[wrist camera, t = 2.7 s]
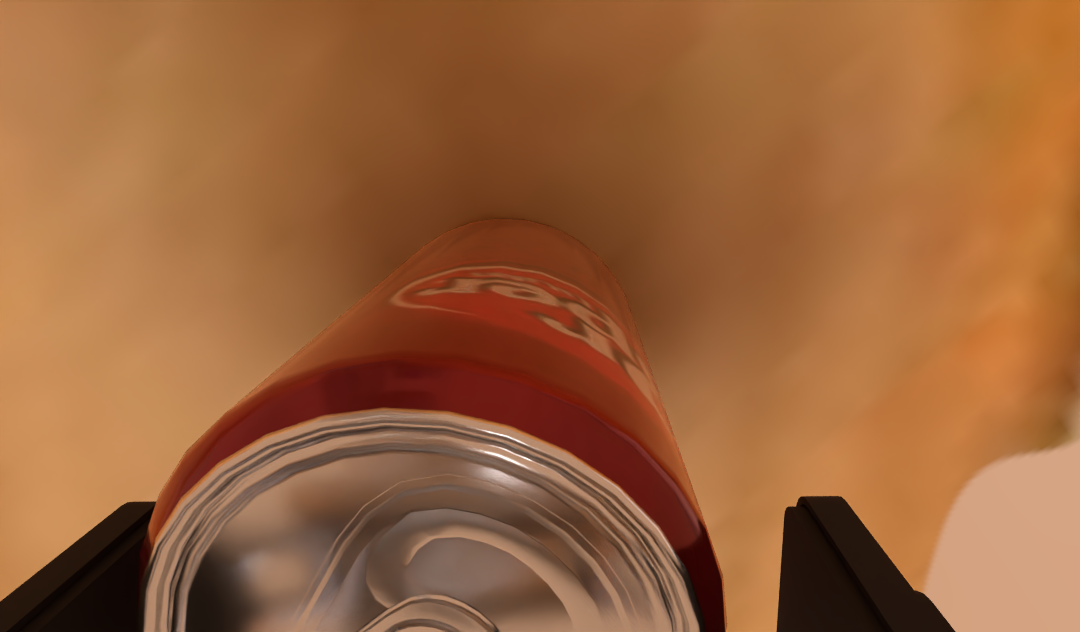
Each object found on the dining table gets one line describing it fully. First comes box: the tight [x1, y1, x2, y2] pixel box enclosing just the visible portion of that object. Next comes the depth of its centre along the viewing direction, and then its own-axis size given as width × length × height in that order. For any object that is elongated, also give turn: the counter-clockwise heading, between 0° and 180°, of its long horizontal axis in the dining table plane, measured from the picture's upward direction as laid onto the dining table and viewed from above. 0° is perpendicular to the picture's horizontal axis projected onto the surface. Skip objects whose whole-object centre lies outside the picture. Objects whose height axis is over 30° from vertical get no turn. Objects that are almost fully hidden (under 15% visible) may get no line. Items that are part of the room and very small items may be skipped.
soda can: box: [137, 218, 727, 632], centre depth 13 cm, size 7×7×12 cm
